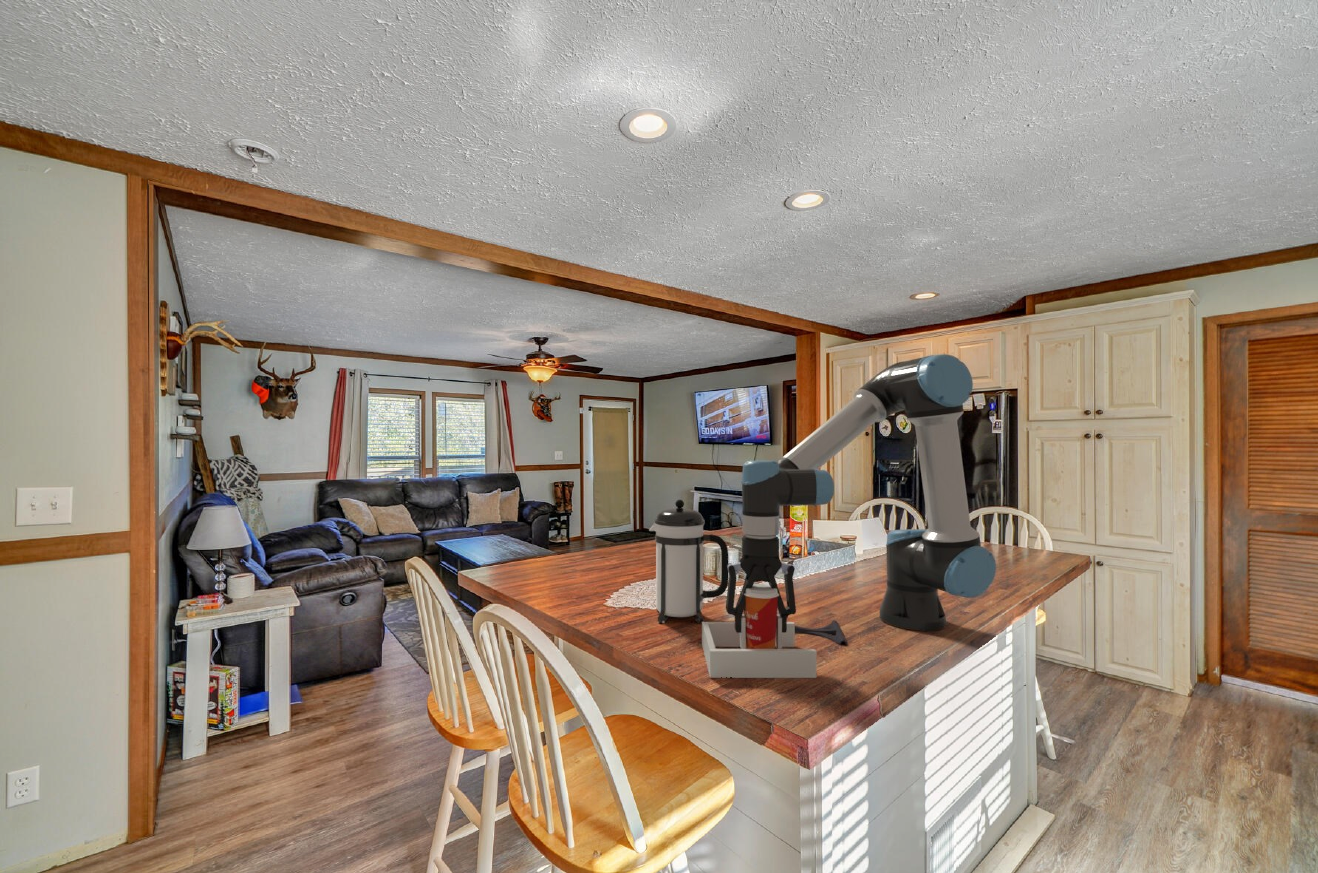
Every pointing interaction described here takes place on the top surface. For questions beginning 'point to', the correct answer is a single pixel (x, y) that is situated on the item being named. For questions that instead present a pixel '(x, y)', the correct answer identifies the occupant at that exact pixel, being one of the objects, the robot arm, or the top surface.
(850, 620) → the top surface
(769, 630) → the paper cup
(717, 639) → the box
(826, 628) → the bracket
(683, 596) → the coffee press
